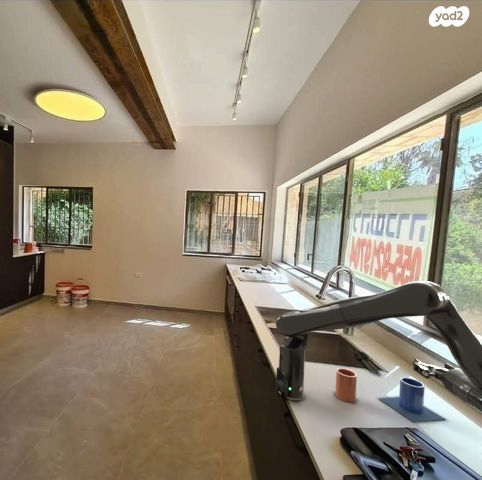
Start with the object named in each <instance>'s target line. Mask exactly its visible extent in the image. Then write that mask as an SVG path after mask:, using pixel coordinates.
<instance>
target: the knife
mask: <svg viewBox="0 0 482 480" xmlns="http://www.w3.org/2000/svg"><path fill="white" fill-rule="evenodd" d="M354 355H355V357H356V360H358V361H361V362H362V363H363V364H364V365H365V367H366V368H367V370H369V371H370V372H373V373H374V374H376V375H380V374H381V372H380V370H378V368H377V367H376V366H375V365H374V364H373V358H370V356H369V355H368V354H367V353H366V352H364V351H361V350H354Z"/></svg>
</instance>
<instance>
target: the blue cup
mask: <svg viewBox="0 0 482 480" xmlns="http://www.w3.org/2000/svg"><path fill="white" fill-rule="evenodd" d="M425 386H426V385H425V384H424V383H423V382H421V381H419V380H417V379H414V378H411V377H406V376H405V377H404V376H403V377H400V378H399V391H398V393H399V394H398V397H399V406H400V407H401V408H403V409H404V410H406V411H408V412H411V413H414V414H422V413H423V406H424V405H425V404H424V403H425V388H426V387H425ZM424 407H425V406H424Z"/></svg>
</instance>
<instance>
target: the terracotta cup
mask: <svg viewBox="0 0 482 480" xmlns="http://www.w3.org/2000/svg"><path fill="white" fill-rule="evenodd" d="M335 372H336V373H335V392H334V393H335V396H336V397H337V398H338V399H339V400H341V401H344V402H348V403H355V402H356V398H357V397H356V396H357V378H358V377H357V375H358V374H357V373H356V372H355V371H353V370H351V369H348V368H343V367H341V368H339V367H338V368H336V370H335Z"/></svg>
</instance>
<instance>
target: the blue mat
mask: <svg viewBox="0 0 482 480" xmlns="http://www.w3.org/2000/svg"><path fill="white" fill-rule="evenodd" d="M378 400H379V401H381V402H382V403H384V404H386V405H387V406H388V407H390V408H391V409H393V410H394V411H396V412H398V413H399V414H400V415H402V416H403V417H405V418H406V419H408V420H409V421H411V422H412V423H423V422H424V423H425V422H436V421H446V418H445V417H443V416H441V415H439V414H438V413H436V412H435V411H433V410H432V409H429V408H428V407H426V406H423V413H422V414H414V413H411V412H408V411H406V410H404V409H403V408H401V407H400V406H399V396H394V397H379V398H378Z"/></svg>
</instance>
